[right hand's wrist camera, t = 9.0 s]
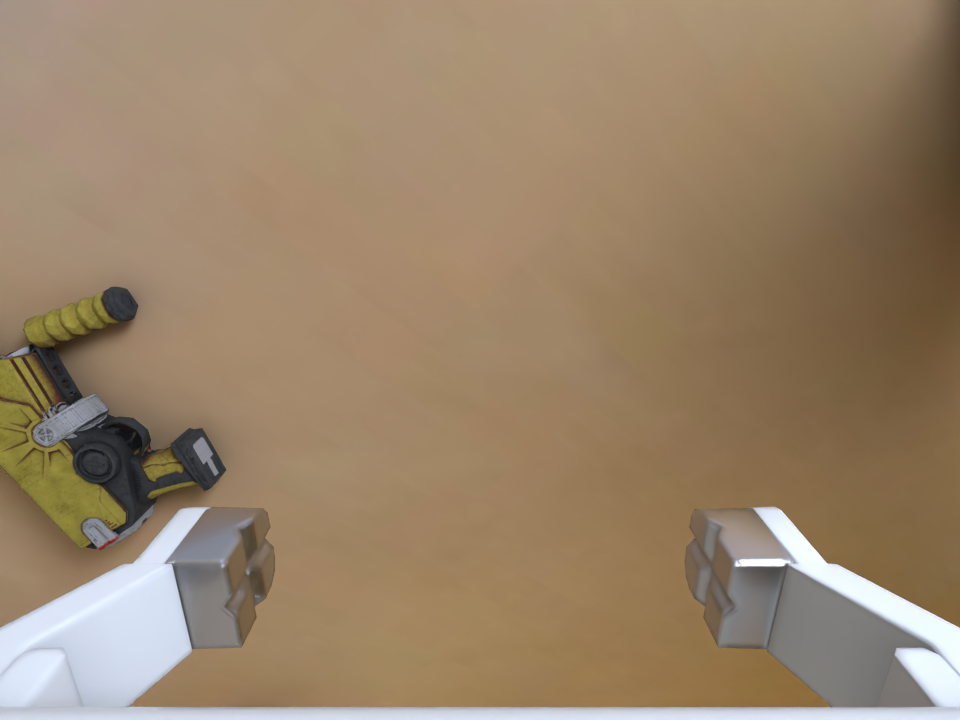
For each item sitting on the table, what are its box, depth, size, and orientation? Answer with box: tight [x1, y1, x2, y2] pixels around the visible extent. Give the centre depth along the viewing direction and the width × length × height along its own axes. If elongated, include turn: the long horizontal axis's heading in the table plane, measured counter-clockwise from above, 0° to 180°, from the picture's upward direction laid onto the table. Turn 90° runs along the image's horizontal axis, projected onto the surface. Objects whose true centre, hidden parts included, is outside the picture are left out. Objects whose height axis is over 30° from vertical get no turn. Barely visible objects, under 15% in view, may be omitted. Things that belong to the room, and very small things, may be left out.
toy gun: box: [0, 287, 226, 550], centre depth 41 cm, size 5×24×15 cm
